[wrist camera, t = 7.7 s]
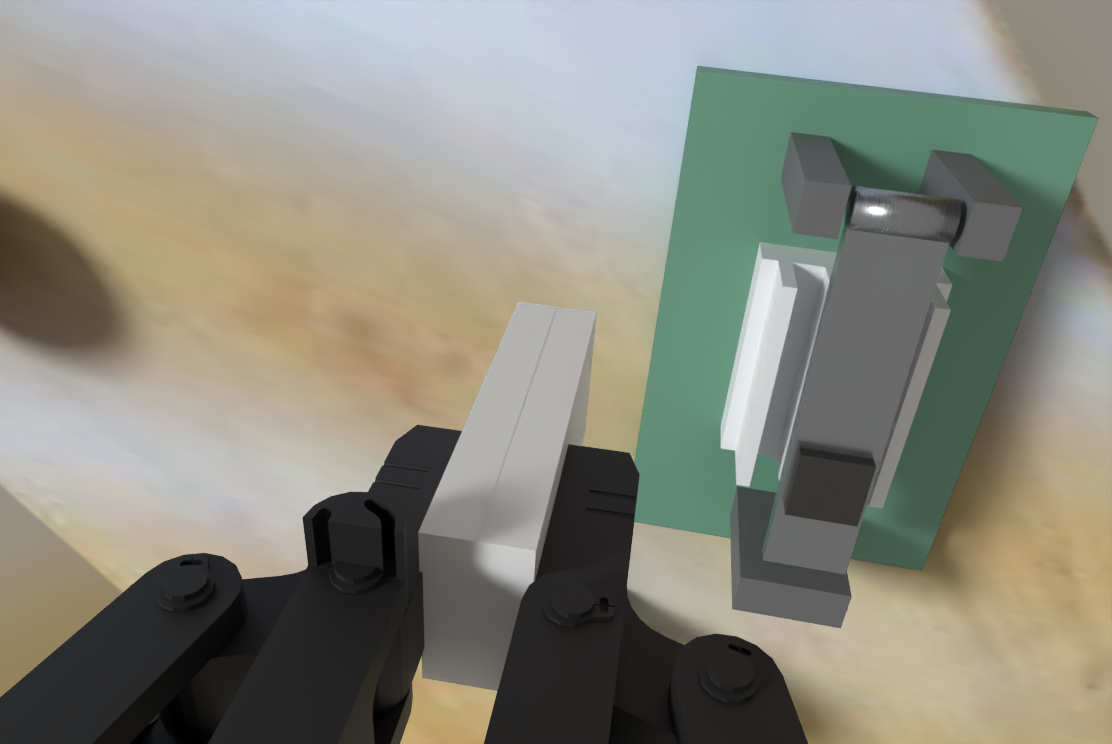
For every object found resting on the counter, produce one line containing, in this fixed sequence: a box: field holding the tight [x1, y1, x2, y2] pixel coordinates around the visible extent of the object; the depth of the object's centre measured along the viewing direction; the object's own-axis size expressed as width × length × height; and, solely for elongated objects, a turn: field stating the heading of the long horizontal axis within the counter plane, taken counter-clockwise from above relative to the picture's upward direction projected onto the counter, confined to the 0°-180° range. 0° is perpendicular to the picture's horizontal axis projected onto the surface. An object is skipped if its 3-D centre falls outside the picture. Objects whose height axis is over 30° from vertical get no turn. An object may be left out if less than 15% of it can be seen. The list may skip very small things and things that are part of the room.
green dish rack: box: [634, 66, 1099, 628], centre depth 39 cm, size 24×16×8 cm, turn 175°
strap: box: [762, 186, 961, 574], centre depth 35 cm, size 17×4×2 cm, turn 175°
